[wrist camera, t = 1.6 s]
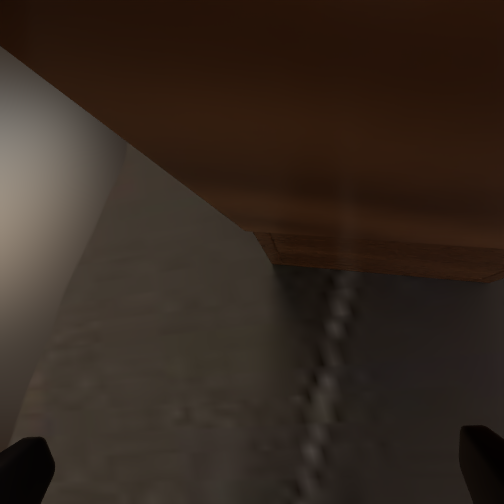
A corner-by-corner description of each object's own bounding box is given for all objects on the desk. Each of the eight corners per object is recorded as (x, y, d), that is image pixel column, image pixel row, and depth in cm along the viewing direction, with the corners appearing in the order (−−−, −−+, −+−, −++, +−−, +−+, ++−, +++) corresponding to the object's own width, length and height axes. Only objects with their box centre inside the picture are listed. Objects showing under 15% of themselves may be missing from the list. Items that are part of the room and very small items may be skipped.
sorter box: (289, 106, 25) (277, 3, 17) (485, 105, 22) (571, -16, 15) (271, 264, 22) (247, 225, 15) (489, 283, 20) (597, 247, 12)
